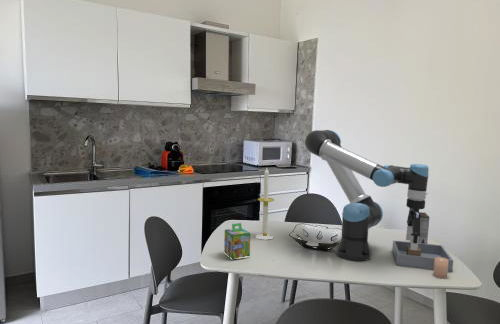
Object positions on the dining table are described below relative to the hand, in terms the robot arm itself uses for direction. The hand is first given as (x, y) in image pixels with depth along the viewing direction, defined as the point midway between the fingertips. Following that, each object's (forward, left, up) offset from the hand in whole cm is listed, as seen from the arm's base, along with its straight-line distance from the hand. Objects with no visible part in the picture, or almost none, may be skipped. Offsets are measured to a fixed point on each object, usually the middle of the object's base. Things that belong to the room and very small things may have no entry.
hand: (411, 244), depth 167 cm
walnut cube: (+1, 0, -6) cm, 6 cm away
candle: (-70, +9, -7) cm, 71 cm away
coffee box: (+7, +23, -7) cm, 25 cm away
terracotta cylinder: (+9, -16, -7) cm, 19 cm away
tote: (+4, 0, -7) cm, 8 cm away
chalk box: (-76, -21, -7) cm, 79 cm away
